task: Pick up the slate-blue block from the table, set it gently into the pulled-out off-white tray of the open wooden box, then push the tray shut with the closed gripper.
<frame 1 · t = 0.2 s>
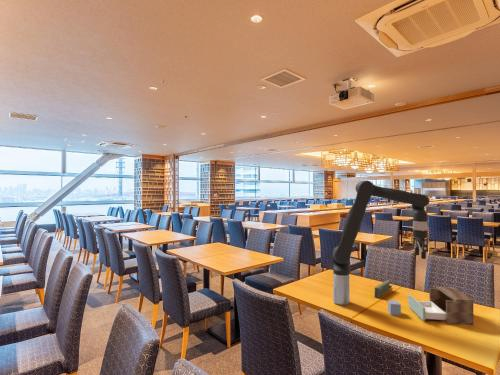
hand: (420, 256, 167), 29 cm above the table, tool pointing down, fingers open, 8 cm apart
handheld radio: (384, 293, 189), on the table
slate block: (394, 313, 158), on the table
tray: (426, 307, 156), point 4 cm above the table, slide at 10.0 cm
open wooden box: (450, 316, 154), on the table
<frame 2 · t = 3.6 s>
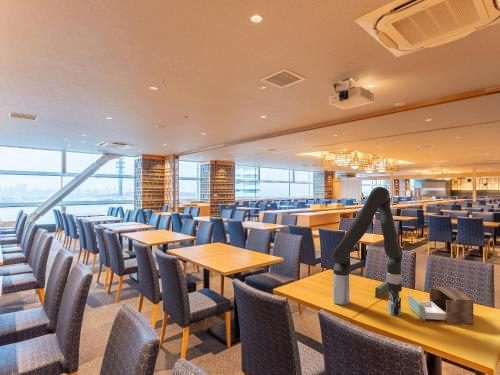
hand: (394, 312, 158), 1 cm above the table, tool pointing down, fingers closed on slate block, 5 cm apart
slate block: (394, 313, 158), on the table, touching gripper
everything else where it was.
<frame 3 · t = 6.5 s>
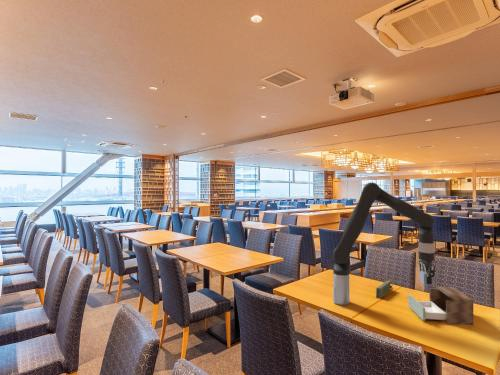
hand: (426, 282, 156), 18 cm above the table, tool pointing down, fingers closed on slate block, 5 cm apart
slate block: (427, 283, 156), point 17 cm above the table, touching gripper
when the fingers open (4 cm above the table, at t = 9.5 s): slate block drops 1 cm, resting on tray.
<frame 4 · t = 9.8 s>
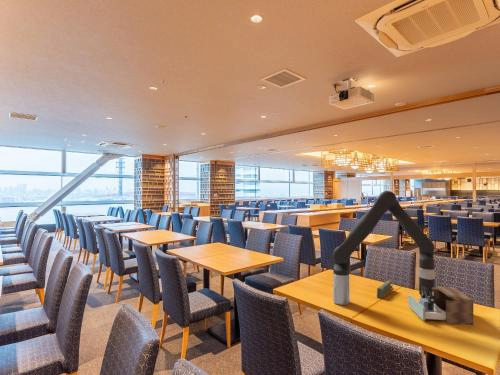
hand: (427, 307, 156), 4 cm above the table, tool pointing down, fingers open, 7 cm apart
slate block: (426, 311, 156), point 2 cm above the table, touching tray
tray: (426, 307, 156), point 4 cm above the table, slide at 10.0 cm, touching slate block
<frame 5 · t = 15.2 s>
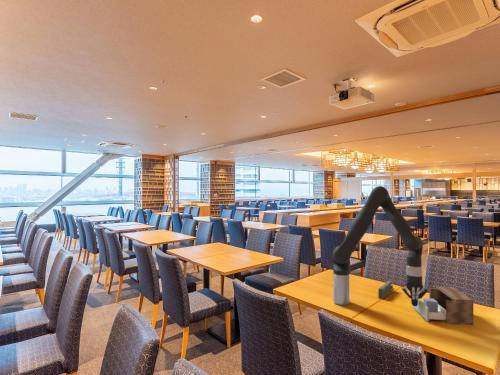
hand: (414, 305, 156), 5 cm above the table, tool pointing down, fingers closed
slate block: (430, 311, 155), point 2 cm above the table, touching tray
tray: (430, 307, 155), point 4 cm above the table, slide at 8.2 cm, touching gripper, slate block
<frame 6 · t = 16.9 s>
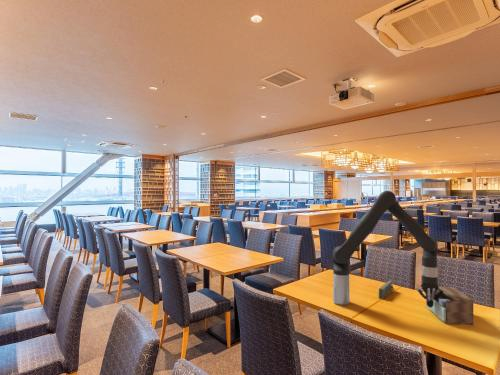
hand: (429, 306, 155), 5 cm above the table, tool pointing down, fingers closed
slate block: (446, 312, 154), point 2 cm above the table, touching tray
tray: (446, 308, 154), point 4 cm above the table, slide at 0.4 cm, touching gripper, slate block
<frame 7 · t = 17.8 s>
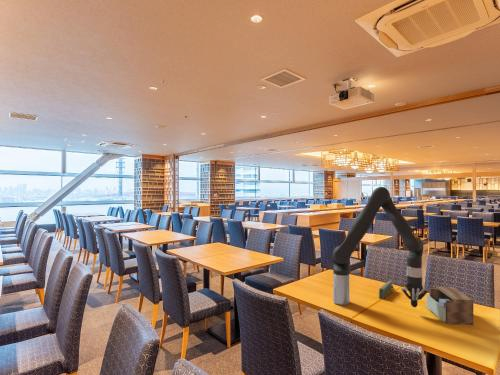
hand: (414, 306, 157), 4 cm above the table, tool pointing down, fingers closed
tray: (446, 308, 154), point 4 cm above the table, slide at 0.4 cm, touching slate block
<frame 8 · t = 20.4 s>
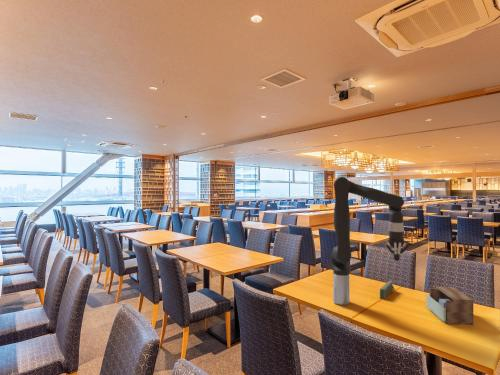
hand: (396, 260, 165), 27 cm above the table, tool pointing down, fingers closed
at the end: tray slide at 0.4 cm; slate block inside the target area (1.7 cm from its centre), point 2.1 cm above the table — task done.
